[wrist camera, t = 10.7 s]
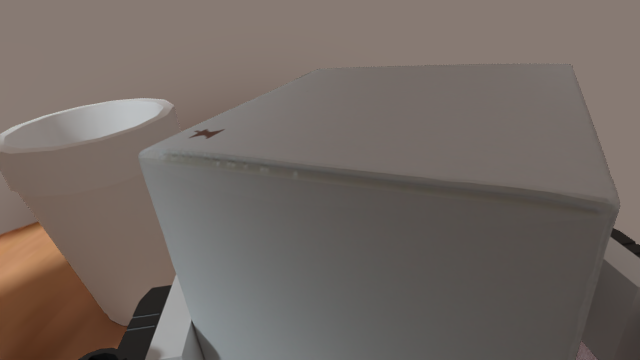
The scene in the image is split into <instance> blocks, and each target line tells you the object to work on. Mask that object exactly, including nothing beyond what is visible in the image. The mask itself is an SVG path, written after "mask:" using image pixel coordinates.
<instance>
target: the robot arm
mask: <svg viewBox="0 0 640 360" xmlns="http://www.w3.org/2000/svg"><path fill="white" fill-rule="evenodd" d="M132 317H133V318H132V319H131V320H130V323H129V325H128V327H127V332H125V334H124V336H123V338H122V340H121V342H120V345H119V347H118V349H115V348H106V349H99V350H96V351H94V352H91V353H88V354H86V355H85V356H83V357H81V358H80V359H78V360H205V358H204V355H203V352H202V349H201V346H200V343H199V340H198V337H197V334H196V331H195V328H194V325H193V322H192V319H191V316H190V313H189V310H188V307H187V304H186V301H185V298H184V295H183V292H182V289H181V286H180V283H179V280H178V277H177V274H176V276H175V279H174V282H173V284H172V285H167V286H160V287H153V288H151V289H150V290H149V291H148V293H147V294H146V295H145V296H144V297H143V298H142V299H141V300H140V301H139V303H138V305H137V307H136V309H135V312H134V314H133V316H132ZM581 340H582V342H583V343H584V344H585V345H586V346H587V347H588V348H589V350H590V351H591V352H592V353H593V354H594V355H595V357H596V358H597V359H598V360H640V245H639V244H636V243H635V241H633V240H632V239H630V238H629V237H627V236H626V235H624V234H623V233H622V232H620V231H618V230H616V229H614V228H613V229H612V232H611V235H610V238H609V241H608V244H607V248H606V251H605V254H604V258H603V262H602V266H601V270H600V274H599V278H598V281H597V285H596V288H595V292H594V295H593V299H592V302H591V306H590V309H589V313H588V317H587V320H586V324H585V328H584V331H583V335H582V338H581Z"/></svg>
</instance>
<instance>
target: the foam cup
mask: <svg viewBox="0 0 640 360" xmlns="http://www.w3.org/2000/svg"><path fill="white" fill-rule="evenodd" d="M180 132H181V129H180V126H179V122H178V118H177V114H176V111H175V107H174V105H173V104H171V103H170V102H168V101H166V100H164V99H148V98H139V99H127V100H115V101H109V102H103V103H97V104H91V105H86V106H80V107H76V108H72V109H68V110H64V111H61V112H57V113H53V114H49V115H45V116H42V117H39V118H36V119H33V120H31V121H28V122H25V123H22V124H19V125H17V126H14V127H12V128H10V129H8V130H6V131H5V132H3V133H1V134H0V171H1V172H2V175H3V177H4V179H5V181H6V183H7V185H8V186H9V188H10V190H11V191H15V192H18V194H19V195H20V197H21V198H22V199H23V201H24V202H25V203H26V205H27V206H28V208H29V209H30V210H31V212H32V213H33V214H34V216H35V217H36V218H37V220H38V221H39V223H40V224H41V226H42V227H43V228H44V230H45V231H46V232H47V234H48V235H49V237H50V238H51V239H52V241H53V242H54V243H55V245H56V246H57V248H58V249H59V250H60V252H61V253H62V255H63V256H64V257H65V259H66V260H67V261H68V263H69V264H70V266H71V267H72V268H73V270H74V271H75V273H76V274H77V275H78V277H79V278H80V279H81V281H82V282H83V284H84V285H85V286H86V288H87V289H88V290H89V292H90V293H91V295H92V296H93V297H94V299H95V300H96V302H97V303H98V304H99V306H100V307H101V308H102V310H103V311H104V313H106V314H107V315H108V317H109V319H110V320H112V321H114V322H116V323H118V324H120V325H122V326H128V325H129V323H130V320H131V319H132V318H133V317H132V316H133V314H134V312H135V309H136V307H137V305H138V303H139V301H140V300H141V299H142V298H143V297H144V296H145V295H146V294H147V293H148V291H149V290H150V289H151V288H153V287H160V286H167V285H172V284H173V282H174V279H175V276H176V271H175V269H174V266H173V263H172V260H171V257H170V254H169V251H168V247H167V244H166V241H165V237H164V234H163V232H162V229H161V226H160V223H159V220H158V217H157V214H156V211H155V208H154V205H153V202H152V199H151V196H150V193H149V190H148V188H147V185H146V182H145V179H144V176H143V173H142V170H141V166H140V163H139V159H138V156H139V153H140V152H141V151H142V150H144V149H146V148H148V147H150V146H152V145H154V144H156V143H158V142H161V141H163V140H165V139H167V138H169V137H171V136H173V135H176V134H178V133H180Z"/></svg>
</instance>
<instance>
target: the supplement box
mask: <svg viewBox="0 0 640 360" xmlns="http://www.w3.org/2000/svg"><path fill="white" fill-rule="evenodd" d="M138 159H139V163H140V166H141V170H142V173H143V176H144V179H145V182H146V185H147V188H148V190H149V193H150V196H151V199H152V202H153V205H154V208H155V211H156V214H157V217H158V220H159V223H160V226H161V229H162V232H163V234H164V237H165V241H166V244H167V247H168V251H169V254H170V257H171V260H172V263H173V266H174V269H175V271H176V274H177V277H178V280H179V283H180V286H181V289H182V292H183V295H184V298H185V301H186V304H187V307H188V310H189V313H190V316H191V319H192V322H193V325H194V328H195V331H196V334H197V337H198V340H199V343H200V346H201V349H202V352H203V355H204V358H205V360H576V356H577V353H578V349H579V346H580V342H581V338H582V335H583V331H584V328H585V324H586V320H587V317H588V313H589V309H590V306H591V302H592V299H593V295H594V292H595V288H596V285H597V281H598V278H599V274H600V270H601V266H602V262H603V258H604V254H605V251H606V248H607V244H608V241H609V238H610V235H611V232H612V229H613V226H614V224H615V221H616V218H617V214H618V212H619V209H620V201H619V197H618V193H617V190H616V187H615V184H614V182H613V179H612V177H611V175H610V172H609V169H608V165H607V162H606V159H605V156H604V153H603V151H602V147H601V145H600V142H599V139H598V136H597V133H596V131H595V128H594V125H593V122H592V119H591V117H590V114H589V111H588V109H587V106H586V103H585V100H584V97H583V95H582V92H581V89H580V87H579V84H578V81H577V78H576V76H575V73H574V70H573V66H571V64H473V65H472V64H471V65H470V64H469V65H425V66H387V67H356V68H355V67H353V68H329V69H317V70H314V71H312V72H310V73H308V74H306V75H304V76H302V77H299V78H297V79H296V80H294V81H291V82H289V83H287V84H285V85H283V86H281V87H279V88H276V89H274V90H273V91H270V92H268V93H266V94H264V95H261V96H259V97H257V98H255V99H253V100H250V101H248V102H246V103H243V104H241V105H239V106H237V107H235V108H233V109H230V110H228V111H226V112H224V113H222V114H219V115H217V116H215V117H213V118H210V119H208V120H206V121H204V122H202V123H200V124H198V125H195V126H193V127H191V128H189V129H187V130H185V131H182V132H180V133H178V134H176V135H173V136H171V137H169V138H167V139H165V140H163V141H161V142H158V143H156V144H154V145H152V146H150V147H148V148H146V149H144V150H142V151H141V152H140V153H139V156H138Z"/></svg>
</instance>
